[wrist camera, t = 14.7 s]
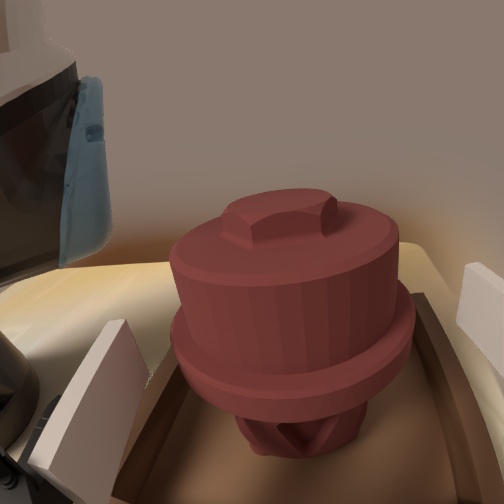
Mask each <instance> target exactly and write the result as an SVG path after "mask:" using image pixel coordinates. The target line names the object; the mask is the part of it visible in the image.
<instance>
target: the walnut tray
mask: <svg viewBox="0 0 504 504" xmlns="http://www.w3.org/2000/svg"><path fill="white" fill-rule="evenodd" d="M411 296H412V298H413V301H414V304H415V311H416V319H415V326H414V333H413V339H412V345H411V349H410V352H409V355H408V358H407V360H406V362H405V364H404V366H403V367H402V369H401V371H400V372H399V373H398V375H397V376H396V377H395V378H394V379H393V380H392V382H391V383H390V384H389V385H388V386H386V387H385V388H384V389H383V390H382V391H380V392H379V393H378V394H377V395H375V396H374V397H372V398H371V399H369V400H368V406H367V412H366V415H365V419H364V421H363V423H362V425H361V427H360V430H359V434H358V436H357V437H356V438H355V439H354V440H353V441H351V442H348V443H345V444H343V445H342V446H340V447H338V448H337V449H335V450H333V451H330V452H328V453H326V454H323V455H319V456H315V457H311V458H302V459H290V458H281V457H277V456H273V455H269V456H261V455H258V454H255V453H254V452H253V451H252V449H251V447H250V444H249V442H248V441H247V440H246V439H245V438H244V436H243V435H242V433H241V432H240V430H239V428H238V425H237V423H236V420H235V416H234V414H231V413H228V412H225V411H223V410H221V409H219V408H217V407H215V406H213V405H212V404H210V403H208V402H207V401H206V400H204V399H203V398H202V397H200V396H199V395H198V394H197V393H196V392H195V391H194V390H193V389H192V388H191V386H190V385H189V384H188V383H187V381H186V379H185V377H184V376H183V374H182V372H181V369H180V367H179V364H178V361H177V359H176V356H175V354H174V351H173V348H172V346H171V347H170V349H169V351H168V352H167V354H166V356H165V357H164V359H163V361H162V362H161V364H160V365H159V367H158V369H157V370H156V372H155V374H154V375H153V377H152V379H151V380H150V382H149V384H148V385H147V387H146V389H145V390H144V392H143V394H142V397H141V400H140V403H139V406H138V409H137V412H136V415H135V418H134V421H133V424H132V427H131V430H130V433H129V436H128V439H127V443H126V446H125V449H124V452H123V455H122V459H121V462H120V465H119V469H118V472H117V475H116V479H115V482H114V486H113V489H112V493H111V497H110V500H109V504H504V483H503V479H502V475H501V472H500V468H499V465H498V461H497V458H496V455H495V451H494V448H493V445H492V442H491V439H490V436H489V433H488V430H487V428H486V425H485V422H484V419H483V417H482V414H481V411H480V409H479V406H478V404H477V401H476V399H475V396H474V394H473V391H472V389H471V387H470V384H469V382H468V380H467V378H466V375H465V373H464V371H463V369H462V366H461V364H460V362H459V360H458V358H457V356H456V354H455V352H454V350H453V347H452V345H451V343H450V341H449V339H448V337H447V335H446V334H445V332H444V330H443V328H442V326H441V324H440V322H439V320H438V318H437V316H436V315H435V313H434V311H433V309H432V307H431V305H430V304H429V302H428V300H427V298H426V297H425V295H424V293H414V294H411Z"/></svg>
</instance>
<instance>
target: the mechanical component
mask: <svg viewBox="0 0 504 504" xmlns="http://www.w3.org/2000/svg"><path fill="white" fill-rule="evenodd" d="M398 259H399V230H398V226H397V224H396V223H395V221H394V220H392V219H391V218H390V217H389V216H387V215H385V214H383V213H381V212H379V211H377V210H375V209H373V208H370V207H367V206H363V205H360V204H355V203H349V202H340V201H337V199H336V198H334V197H333V196H332V195H331V194H330V193H328V192H326V191H323V190H318V189H284V190H276V191H269V192H264V193H259V194H255V195H251V196H247V197H244V198H241V199H239V200H236V201H234V202H232V203H231V204H229V205H228V206H227V208H226V209H225V210H224V212H223V214H222V215H221V217H218V218H215V219H213V220H210V221H208V222H206V223H204V224H202V225H200V226H198V227H196V228H194V229H193V230H191V231H190V232H188V233H187V234H186V235H185V236H183V237H182V238H181V239H180V240H179V241H177V242H176V244H175V245H174V246H173V248H172V249H171V251H170V254H169V262H170V266H171V269H172V273H173V277H174V280H175V284H176V287H177V291H178V294H179V298H180V301H181V304H182V305H181V307H180V308H179V310H178V311H177V313H176V315H175V316H174V319H173V322H172V325H171V332H170V338H171V345H172V348H173V351H174V354H175V356H176V359H177V361H178V364H179V367H180V369H181V372H182V374H183V376H184V377H185V379H186V381H187V383H188V384H189V385H190V386H191V388H192V389H193V390H194V391H195V392H196V393H197V394H198V395H199V396H200V397H202V398H203V399H204V400H206V401H207V402H208V403H210V404H212V405H213V406H215V407H217V408H219V409H221V410H223V411H225V412H228V413H231V414H234V416H235V420H236V423H237V425H238V428H239V430H240V432H241V433H242V435H243V436H244V438H245V439H246V440H247V441H248V442H249V444H250V447H251V449H252V451H253V452H254V453H255V454H258V455H261V456H269V455H273V456H277V457H281V458H290V459H302V458H311V457H315V456H319V455H323V454H326V453H328V452H330V451H333V450H335V449H337V448H338V447H340V446H342V445H343V444H345V443H348V442H351V441H353V440H354V439H355V438H356V437H357V436H358V434H359V430H360V427H361V425H362V423H363V421H364V419H365V415H366V412H367V406H368V400H369V399H371V398H372V397H374V396H375V395H377V394H378V393H379V392H380V391H382V390H383V389H384V388H385V387H386V386H388V385H389V384H390V383H391V382H392V380H393V379H394V378H395V377H396V376H397V375H398V373H399V372H400V371H401V369H402V367H403V366H404V364H405V362H406V360H407V358H408V355H409V352H410V349H411V345H412V339H413V333H414V326H415V319H416V311H415V304H414V301H413V298H412V296H411V294H410V293H409V291H408V290H407V288H406V287H405V286H404V285H403V284H402V283H401V282H400V281H399V280H398Z"/></svg>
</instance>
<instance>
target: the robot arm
mask: <svg viewBox="0 0 504 504" xmlns="http://www.w3.org/2000/svg"><path fill="white" fill-rule="evenodd" d="M44 3H45V2H44V0H0V287H3V286H6V285H9V284H12V283H15V282H18V281H21V280H24V279H28V278H31V277H34V276H37V275H40V274H43V273H46V272H49V271H52V270H56V269H59V270H60V269H63V268H65V267H66V265H67V264H69V263H71V262H74V261H76V260H78V259H81V258H84V257H86V256H89V255H91V254H94V253H96V252H98V251H99V250H100V249H102V248H103V247H104V246H105V245H106V243H107V242H108V241H109V239H110V236H111V234H112V227H113V223H112V211H111V202H110V194H109V184H108V173H107V162H106V151H105V140H104V122H103V116H104V115H103V114H104V113H103V87H102V81H101V80H100V79H99V78H97V77H90V76H85V77H82V79H81V80H79V79H78V75H77V68H76V62H75V54H74V53H73V52H72V51H70V50H68V49H66V48H65V47H63V46H62V45H60V44H58V43H56V42H55V41H53V40H51V39H50V38H49V36H48V34H47V31H46V19H45V4H44ZM455 323H456V324H457V325H458V326H459V327H460V328H461V329H462V330H463V331H464V333H465V334H466V335H467V336H468V337H469V338H470V339H471V340H472V341H473V343H474V344H475V345H476V346H477V347H478V348H479V350H480V351H481V352H482V353H483V354H484V355H485V357H486V358H487V359H488V360H489V361H490V362H491V364H492V365H493V366H494V367H495V368H496V370H497V371H498V372H499V373H500V375H501V376H502V377H503V378H504V279H502V278H501V277H499V276H498V275H497V274H495V273H494V272H492V271H491V270H490V269H488V268H487V267H485V266H484V265H483V264H481V263H480V262H474V263H470V264H466V265H465V270H464V277H463V283H462V290H461V295H460V301H459V306H458V311H457V316H456V320H455ZM148 377H149V372H148V369H147V367H146V365H145V363H144V361H143V359H142V356H141V354H140V352H139V350H138V347H137V345H136V343H135V340H134V338H133V336H132V333H131V331H130V328H129V326H128V323H127V321H126V319H119V320H109V321H108V322H107V324H106V325H105V327H104V328H103V330H102V331H101V333H100V334H99V336H98V337H97V339H96V341H95V342H94V344H93V345H92V347H91V349H90V350H89V352H88V353H87V355H86V357H85V358H84V360H83V361H82V363H81V365H80V366H79V368H78V370H77V371H76V373H75V375H74V376H73V378H72V380H71V381H70V383H69V385H68V387H67V388H66V390H65V392H64V393H63V395H58V396H57V397H56V398H55V399H54V400H53V401H52V402H51V403H50V404H49V405H48V406H47V408H46V410H45V411H44V413H43V415H42V419H40V420H39V422H38V424H37V428H35V429H34V431H33V433H32V435H31V437H30V439H29V441H28V442H27V444H26V446H25V448H24V450H23V452H22V454H21V456H20V458H19V460H18V461H17V462H16V461H14V460H13V459H12V458H11V457H10V456H9V454H8V453H7V452H6V451H5V449H6V448H7V447H8V446H9V445H10V444H11V443H12V442H13V441H14V440H15V439H16V438H17V437H18V436H19V434H20V433H21V432H22V430H23V429H24V428H25V426H26V425H27V423H28V421H29V419H30V418H31V416H32V414H33V411H34V409H35V406H36V403H37V399H38V394H39V383H38V378H37V376H36V374H35V372H34V371H33V369H32V367H31V366H30V364H29V362H28V361H27V359H26V358H25V356H24V355H23V354H22V353H21V352H20V351H19V350H18V349H17V348H16V347H15V346H14V345H13V344H12V343H11V342H10V341H9V340H8V339H7V338H6V337H5V335H4V334H3V333H2V332H1V331H0V504H73V503H75V504H109V500H110V497H111V493H112V489H113V486H114V482H115V479H116V475H117V472H118V469H119V465H120V462H121V459H122V455H123V452H124V449H125V446H126V443H127V439H128V436H129V433H130V430H131V427H132V424H133V421H134V418H135V415H136V412H137V409H138V406H139V403H140V400H141V397H142V394H143V391H144V388H145V386H146V383H147V380H148Z"/></svg>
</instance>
